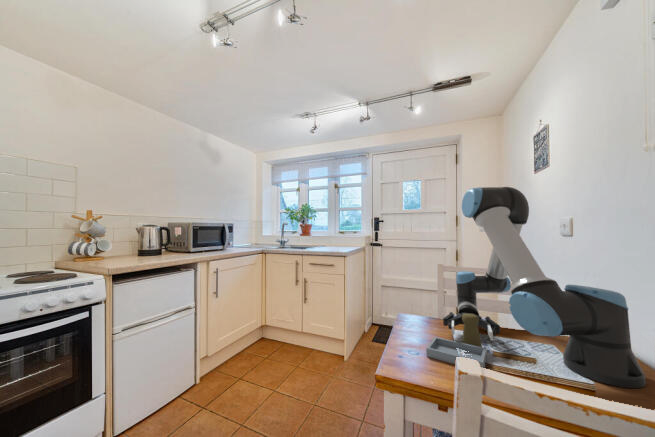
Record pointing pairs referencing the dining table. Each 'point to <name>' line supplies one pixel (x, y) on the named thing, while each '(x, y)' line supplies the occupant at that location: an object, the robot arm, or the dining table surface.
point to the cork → (471, 330)
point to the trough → (454, 351)
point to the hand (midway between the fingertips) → (471, 333)
